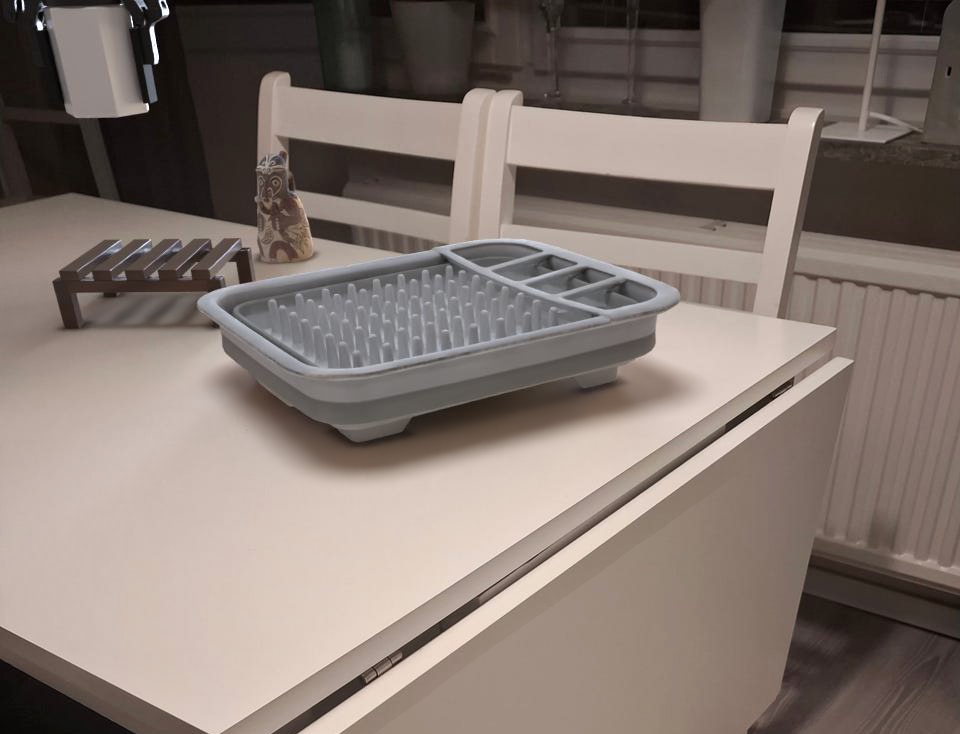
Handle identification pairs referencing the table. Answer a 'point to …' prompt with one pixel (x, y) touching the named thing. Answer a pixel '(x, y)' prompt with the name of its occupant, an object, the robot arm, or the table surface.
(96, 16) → the jar
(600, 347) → the dish rack
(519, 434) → the table surface
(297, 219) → the figurine
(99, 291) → the rack
